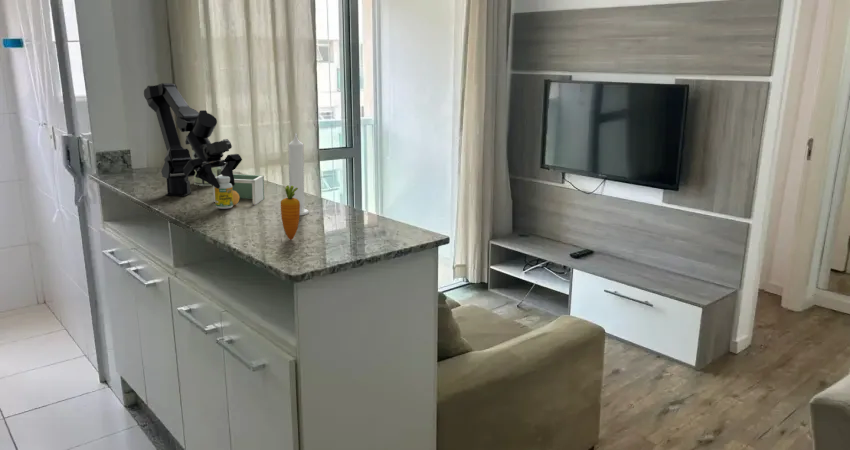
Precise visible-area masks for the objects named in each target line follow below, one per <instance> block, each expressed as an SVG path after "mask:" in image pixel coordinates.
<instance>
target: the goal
mask: <svg viewBox="0 0 850 450" xmlns="http://www.w3.org/2000/svg"><path fill="white" fill-rule="evenodd" d="M219 176H223V175H222V174H221V175H219ZM233 176H234V182H235V185H234V186H232V187H233V190H234V191H236V192H237V193H238V194H239V199H248V200H249V199H250V200H251V199H252V205H258V204H259V203H261V202H262V201H263V200H265V180H264V175H259V174H258V175H256V174H237V173H233ZM217 177H218V176H217ZM217 177H215V178H216V179H217ZM212 187H213V188H212V193H213V194H212V195H213V203H214V202H215V187H214V186H212Z"/></svg>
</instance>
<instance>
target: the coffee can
mask: <svg viewBox="0 0 850 450" xmlns="http://www.w3.org/2000/svg"><path fill="white" fill-rule="evenodd" d="M191 151H192V152H191V155H192V156H191V159H198V158H195V157H194V154H195V152H194V150H193V148H192V147H191ZM220 159H221V160H222V157H221V158H220ZM211 169H212V173H213V174H214V176H215V177H217V176H219V175H221V171H222V169H221V168H220V167H215V168H211ZM194 171H195V172H196V170H194ZM196 174H197V173H195V175H194V176H193V185H194V186H198V185H199V187H200V186H201V187H213V186H212V185H211V184H209V183H208V182H206V181H204V180H202V179H200V178H196V177H195V176H196Z"/></svg>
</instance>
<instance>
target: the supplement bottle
mask: <svg viewBox="0 0 850 450" xmlns="http://www.w3.org/2000/svg"><path fill="white" fill-rule="evenodd" d="M217 181H218V183H219V185H220V188H219V189H217V188H216V187H215V204H214V206H215V208H216V209H222V210H223V209H225V210H226V209H232V208H233V206H234V205H233V187H232V184H231V183H229V182H230V177H229V176H218V177H217Z"/></svg>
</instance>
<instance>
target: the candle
mask: <svg viewBox="0 0 850 450" xmlns="http://www.w3.org/2000/svg"><path fill="white" fill-rule="evenodd" d="M304 147H305V145H304V143H303V142H302V141H300V140H299V138H298V134H297V132H295V133H294V137H293V140H291V141H290V142H289V143H288V182H289V184H288V185H289V189H290V187H291V186H294V188H293V190H294V189H295V188H298V189H297V190H296V191H295V192H294V193H295V195H294V196H293V197H292V198H296V199H297V200H298V201H299V202H300V216H305V215H308V214H309V210H308V209H307V208H305V170H304V169H305V161H304V160H305V157H304V156H305V154H304V153H305V152H304ZM293 190H292V191H293Z"/></svg>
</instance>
